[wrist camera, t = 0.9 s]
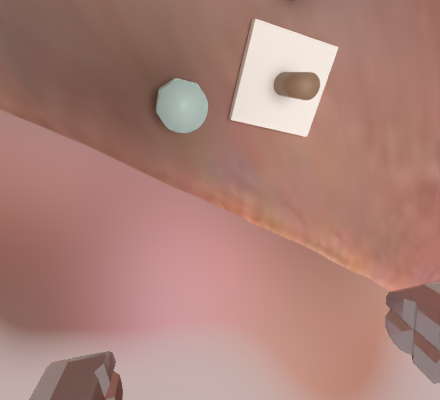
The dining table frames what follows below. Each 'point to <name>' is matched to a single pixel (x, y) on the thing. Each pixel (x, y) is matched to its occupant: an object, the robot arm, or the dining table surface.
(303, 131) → the post stand
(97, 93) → the dining table surface
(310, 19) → the dining table surface
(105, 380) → the robot arm
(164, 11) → the dining table surface
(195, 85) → the cap
